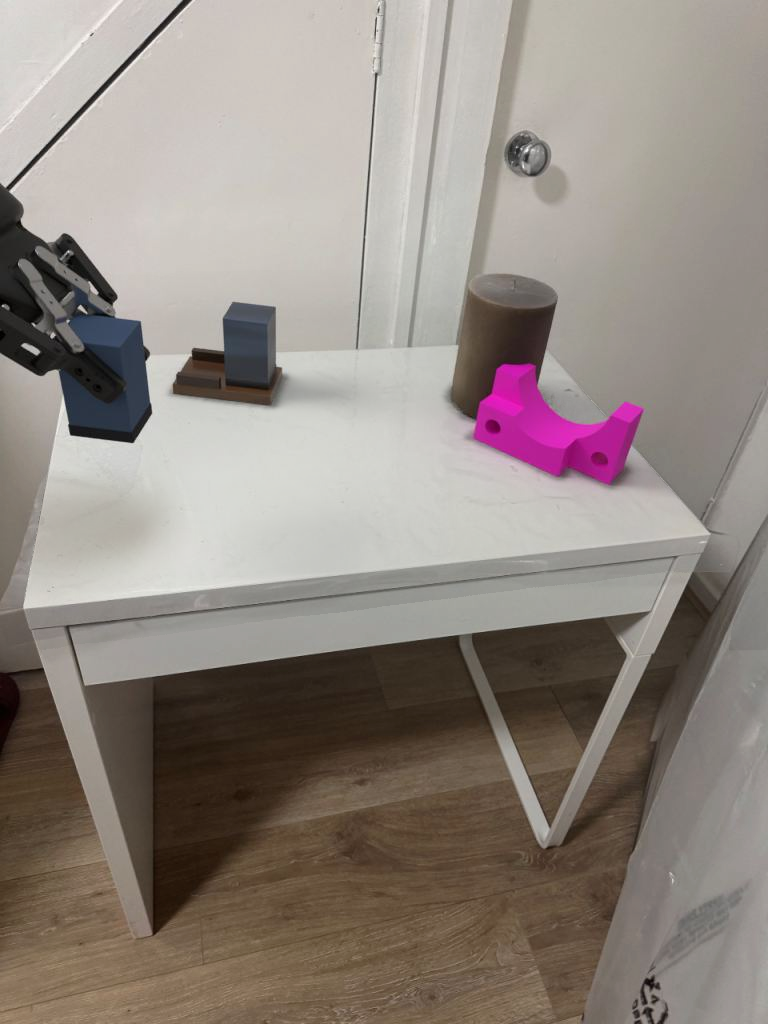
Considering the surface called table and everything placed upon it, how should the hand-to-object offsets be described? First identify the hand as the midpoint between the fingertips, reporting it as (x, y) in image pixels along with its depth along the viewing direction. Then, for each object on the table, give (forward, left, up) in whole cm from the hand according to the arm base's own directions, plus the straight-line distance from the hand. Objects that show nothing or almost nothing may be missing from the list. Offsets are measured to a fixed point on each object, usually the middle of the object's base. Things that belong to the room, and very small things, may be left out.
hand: (130, 378), depth 57 cm
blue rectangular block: (-2, 0, -4) cm, 5 cm away
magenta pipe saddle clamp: (+39, +14, -16) cm, 45 cm away
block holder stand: (+5, +27, -16) cm, 31 cm away
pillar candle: (+35, +25, -16) cm, 46 cm away
